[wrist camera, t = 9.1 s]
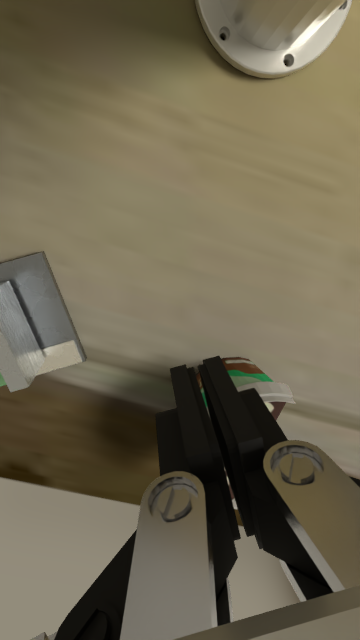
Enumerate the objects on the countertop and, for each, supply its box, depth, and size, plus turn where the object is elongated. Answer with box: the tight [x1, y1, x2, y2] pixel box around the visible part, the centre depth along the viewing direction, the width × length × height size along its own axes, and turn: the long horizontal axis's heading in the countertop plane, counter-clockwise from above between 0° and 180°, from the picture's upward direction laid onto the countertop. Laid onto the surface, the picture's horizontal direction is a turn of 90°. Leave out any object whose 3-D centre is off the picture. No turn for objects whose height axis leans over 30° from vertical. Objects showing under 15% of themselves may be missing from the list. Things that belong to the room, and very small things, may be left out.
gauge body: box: [0, 251, 87, 386], centre depth 29 cm, size 11×9×3 cm
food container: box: [196, 357, 295, 509], centre depth 31 cm, size 12×6×10 cm, turn 158°
